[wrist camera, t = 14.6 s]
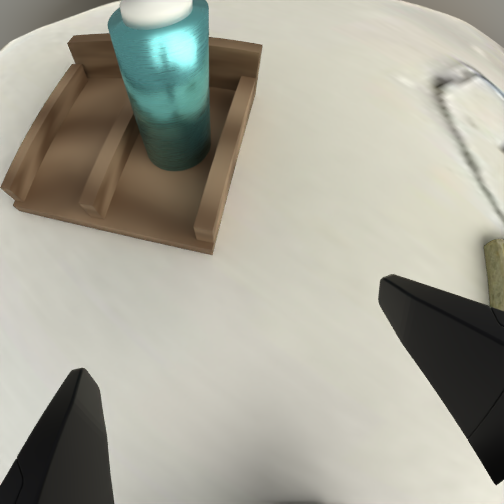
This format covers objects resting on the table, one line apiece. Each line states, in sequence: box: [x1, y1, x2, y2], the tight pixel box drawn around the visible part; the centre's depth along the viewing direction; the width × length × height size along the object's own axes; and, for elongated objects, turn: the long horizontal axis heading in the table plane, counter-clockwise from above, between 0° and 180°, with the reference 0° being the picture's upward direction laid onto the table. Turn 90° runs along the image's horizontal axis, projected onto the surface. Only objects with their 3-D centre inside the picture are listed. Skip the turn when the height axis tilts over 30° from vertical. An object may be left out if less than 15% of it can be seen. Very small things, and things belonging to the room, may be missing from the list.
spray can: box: [108, 0, 211, 171], centre depth 18 cm, size 5×5×14 cm
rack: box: [0, 33, 262, 255], centre depth 22 cm, size 16×18×6 cm
